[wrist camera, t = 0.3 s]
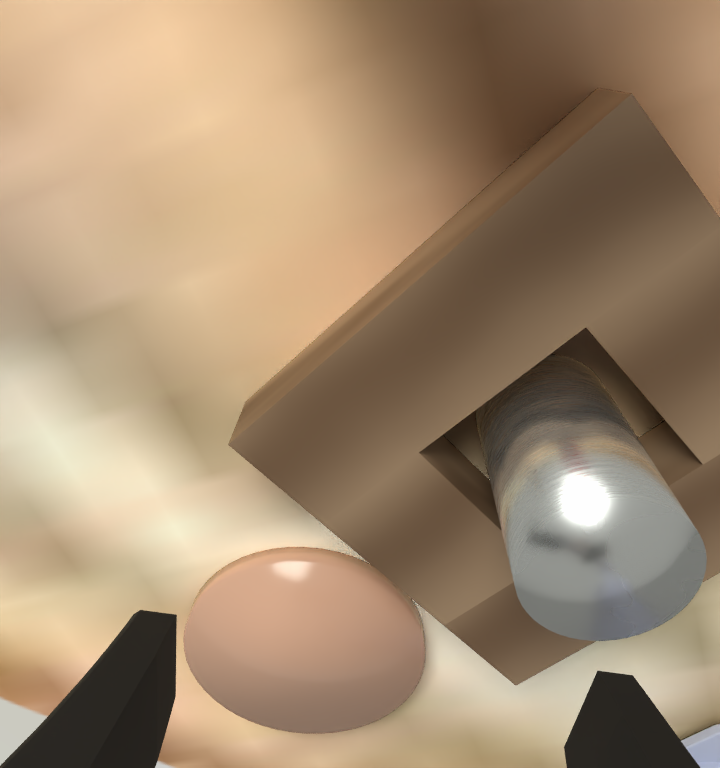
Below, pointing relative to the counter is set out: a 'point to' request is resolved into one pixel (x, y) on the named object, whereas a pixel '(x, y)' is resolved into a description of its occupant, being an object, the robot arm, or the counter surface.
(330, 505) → the pocket block
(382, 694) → the coaster
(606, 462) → the round metal peg
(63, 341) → the counter surface
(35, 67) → the counter surface
